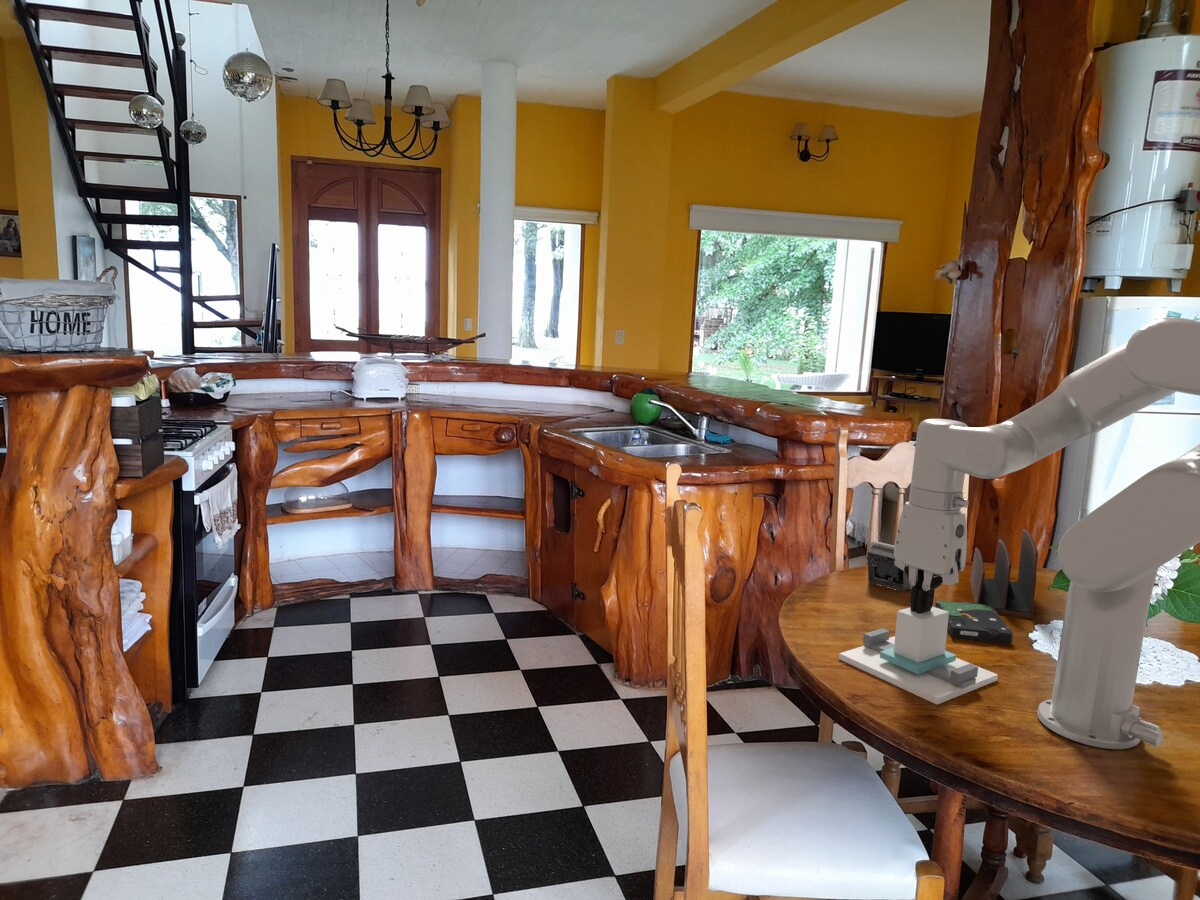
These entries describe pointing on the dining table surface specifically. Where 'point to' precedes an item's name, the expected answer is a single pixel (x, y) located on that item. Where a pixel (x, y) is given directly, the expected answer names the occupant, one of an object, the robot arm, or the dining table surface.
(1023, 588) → the letter holder
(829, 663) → the dining table surface
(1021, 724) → the dining table surface
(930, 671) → the rail panel
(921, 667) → the plate
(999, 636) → the disk drive
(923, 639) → the block
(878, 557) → the electrical switch
